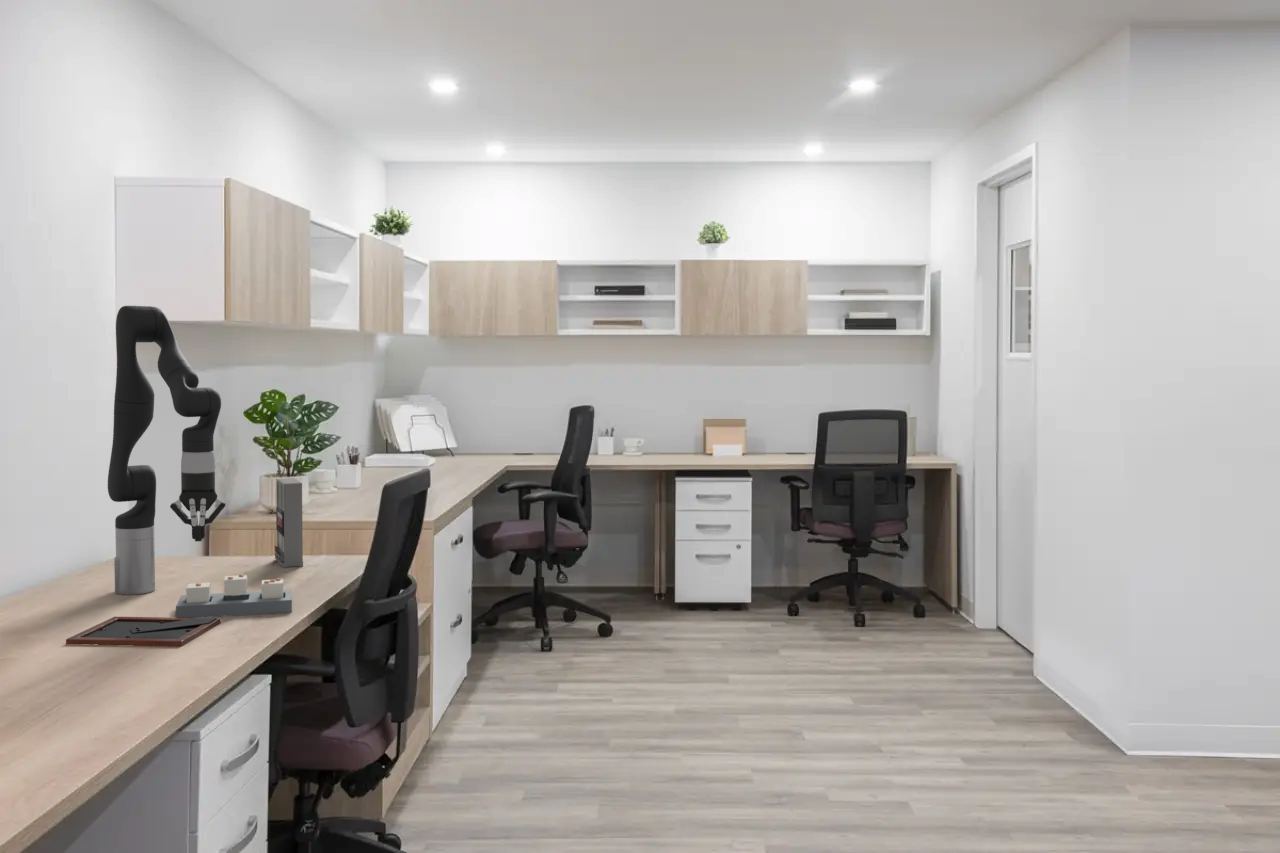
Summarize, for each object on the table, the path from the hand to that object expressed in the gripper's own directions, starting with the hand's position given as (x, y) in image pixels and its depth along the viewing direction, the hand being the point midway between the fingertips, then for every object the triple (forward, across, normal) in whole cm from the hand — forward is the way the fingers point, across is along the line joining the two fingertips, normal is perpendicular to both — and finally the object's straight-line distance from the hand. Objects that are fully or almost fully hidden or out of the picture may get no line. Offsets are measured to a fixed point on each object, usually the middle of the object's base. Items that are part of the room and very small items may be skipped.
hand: (198, 540), depth 253 cm
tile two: (+14, +8, -1) cm, 16 cm away
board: (+17, +8, -1) cm, 19 cm away
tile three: (+15, +17, -1) cm, 23 cm away
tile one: (+15, 0, -1) cm, 15 cm away
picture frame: (+18, -9, -19) cm, 28 cm away
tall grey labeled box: (+18, +20, +57) cm, 63 cm away
